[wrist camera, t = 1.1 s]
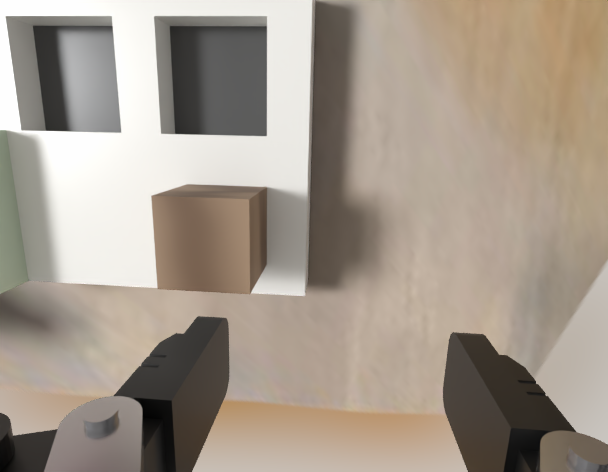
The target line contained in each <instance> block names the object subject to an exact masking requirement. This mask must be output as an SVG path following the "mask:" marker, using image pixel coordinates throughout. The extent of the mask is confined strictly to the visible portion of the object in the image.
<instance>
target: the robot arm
mask: <svg viewBox="0 0 608 472" xmlns="http://www.w3.org/2000/svg"><path fill="white" fill-rule="evenodd" d="M228 382H229V330H228V321H227V319H226V318H217V317H200V316H198V317H197V318H196V319H195V320H194V322H193V323H192V324H191V326H190V327H189V328H188V329H187V331H186V332H185V333H184V334H177V333H176V334H174V335H172V336H171V337H169V338H167V339H165V340H164V341H162V342H160V343H159V344H158V345H157V347H156V348H155V349H154V350H153V351H152V352H151V353H150V357H147V358H146V359H145V360H144V362H143V363H142V365H141V366H139V367H138V368H137V370H136V371H135V372H134V373H133V374H132V375H131V377H130V378H129V379H128V380H127V381H126V382H125V383H124V385H123V386H122V387H121V388H120V389H119V390H118V391H117V393H116V394H115V395H114V396H110V397H104V398H99V399H96V400H93V401H90V402H87V403H85V404H83V405H81V406H79V407H77V408H76V409H74V410H73V411H71V412H70V413H69V414H68V415H67V416H66V417H65V418H64V419H63V420H62V421H61V423H60V425H59V427H58V429H56V430H50V431H44V432H36V433H29V434H22V435H16V436H13V434H12V428H11V423H10V419H9V418H8V416H6V415H4V414H2V413H0V472H192V470H193V468H194V466H195V464H196V461H197V459H198V457H199V454H200V452H201V450H202V448H203V445H204V443H205V441H206V439H207V436H208V434H209V432H210V429H211V427H212V425H213V423H214V420H215V418H216V416H217V414H218V411H219V409H220V407H221V404H222V402H223V400H224V398H225V395H226V392H227V388H228ZM443 401H444V408H445V412H446V415H447V418H448V420H449V423H450V426H451V428H452V431H453V433H454V436H455V439H456V441H457V444H458V446H459V449H460V452H461V454H462V457H463V460H464V462H465V465H466V467H467V470H468V472H608V445H607V444H605V443H603V442H601V441H599V440H597V439H595V438H592V437H590V436H587V435H584V434H580V433H577V432H576V431H575V430H574V428H573V427H572V426H571V425H570V423H569V422H568V421H567V420H566V418H565V417H564V416H563V415H562V413H561V412H560V411H559V410H558V408H557V407H556V406H555V405H554V404H553V402H552V401H551V400H550V399H549V397H548V396H546V395H545V392H544V391H543V390H542V389H541V387H540V386H539V385H538V384H536V381H535V380H534V378H533V377H532V376H531V375H530V373H529V372H528V371H527V370H526V368H525V367H523V366H522V365H520V364H519V363H517V362H516V361H514V360H513V359H511V358H510V357H508V356H507V355H499V354H498V353H497V351H496V350H495V349H494V347H493V346H492V344H491V343H490V342H489V340H488V339H487V338H486V336H485V335H483V334H470V333H454V332H453V333H452V334H451V336H450V339H449V345H448V353H447V361H446V369H445V377H444V386H443Z"/></svg>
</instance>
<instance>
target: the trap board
mask: <svg viewBox="0 0 608 472" xmlns="http://www.w3.org/2000/svg"><path fill="white" fill-rule="evenodd" d="M314 36H315V0H0V294H1V293H4V292H6V291H8V290H10V289H12V288H14V287H16V286H19V285H21V284H23V283H25V282H27V281H41V282H59V283H77V284H95V285H113V286H131V287H150V288H157V273H156V258H155V244H154V229H153V214H152V199H151V196H152V195H155V194H158V193H161V192H164V191H168V190H171V189H174V188H177V187H180V186H183V185H186V184H196V185H226V186H255V187H267V265H266V267H265V269H264V271H263V272H262V274H261V276H260V278H259V279H258V281H257V283H256V285H255V286H254V288H253V290H252V292H251V293H258V294H277V295H295V296H305V293H306V289H307V284H308V258H309V221H310V184H311V147H312V110H313V73H314Z"/></svg>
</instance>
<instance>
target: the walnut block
mask: <svg viewBox="0 0 608 472" xmlns="http://www.w3.org/2000/svg"><path fill="white" fill-rule="evenodd" d="M151 199H152V214H153V229H154V244H155V258H156V273H157V288H158V289H167V290H185V291H203V292H221V293H239V294H250V293H251V292H252V290H253V288H254V286H255V285H256V283H257V281H258V279H259V278H260V276H261V274H262V272H263V271H264V269H265V267H266V265H267V187H255V186H226V185H196V184H186V185H183V186H180V187H177V188H174V189H171V190H168V191H164V192H161V193H158V194H155V195H152V196H151Z"/></svg>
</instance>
